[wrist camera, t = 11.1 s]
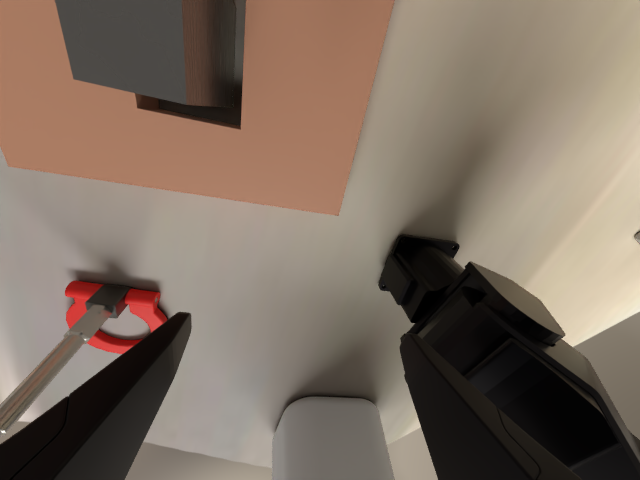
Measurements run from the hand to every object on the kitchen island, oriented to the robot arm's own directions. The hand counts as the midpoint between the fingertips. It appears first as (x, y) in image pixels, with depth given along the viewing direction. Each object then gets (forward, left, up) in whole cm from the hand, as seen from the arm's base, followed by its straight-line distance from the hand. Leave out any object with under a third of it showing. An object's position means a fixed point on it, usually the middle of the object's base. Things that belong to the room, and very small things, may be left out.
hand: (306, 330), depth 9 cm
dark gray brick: (+7, -10, -12) cm, 17 cm away
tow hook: (+15, +13, -12) cm, 24 cm away
